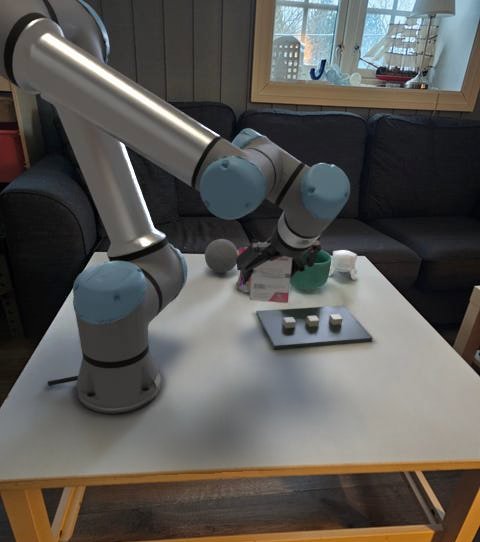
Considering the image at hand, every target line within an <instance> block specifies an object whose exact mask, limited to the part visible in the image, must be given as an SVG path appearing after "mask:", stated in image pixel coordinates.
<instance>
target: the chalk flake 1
mask: <svg viewBox="0 0 480 542" xmlns="http://www.w3.org/2000/svg"><path fill="white" fill-rule="evenodd" d="M283 325H284V326H285V328H295V325H296V321H295V320H294V318H293V317H286V318H283Z"/></svg>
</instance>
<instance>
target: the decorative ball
mask: <svg viewBox="0 0 480 542" xmlns="http://www.w3.org/2000/svg"><path fill="white" fill-rule="evenodd" d="M237 250H238V248H237V247H236V245H235V244H234V243H233V242H231V241H230V240H228V239H224V238H218V239H215V240H213V241H211V242H209V244H208V245H207V246H206V249H205V251H204V260H205V263H206V265H207V267H208V268H209V269H210V270H212V271H213V272H215V273H218V274H225V273H229V272H231V271H232V270H233V269H234V268H235V267H236V266H237V262H236V258H237V254H236V252H237Z"/></svg>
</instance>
